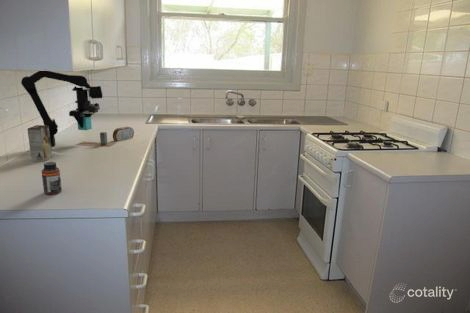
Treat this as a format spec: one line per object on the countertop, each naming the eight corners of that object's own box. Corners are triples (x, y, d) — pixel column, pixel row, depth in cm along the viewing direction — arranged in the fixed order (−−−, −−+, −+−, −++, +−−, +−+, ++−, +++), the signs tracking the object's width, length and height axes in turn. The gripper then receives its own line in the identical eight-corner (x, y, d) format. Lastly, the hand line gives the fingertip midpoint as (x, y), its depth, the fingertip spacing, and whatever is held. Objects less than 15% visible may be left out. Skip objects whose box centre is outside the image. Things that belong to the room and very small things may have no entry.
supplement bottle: (43, 191, 135) (40, 161, 132) (60, 188, 138) (58, 160, 135) (44, 196, 130) (41, 166, 128) (62, 193, 133) (59, 164, 130)
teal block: (86, 130, 201) (85, 118, 199) (78, 129, 202) (77, 118, 200) (91, 128, 206) (90, 117, 204) (83, 128, 207) (82, 116, 205)
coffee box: (39, 156, 181) (36, 124, 177) (52, 156, 182) (49, 125, 178) (30, 161, 172) (26, 128, 168) (44, 161, 173) (41, 128, 169)
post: (105, 145, 203) (104, 133, 201) (100, 145, 203) (99, 132, 201) (107, 144, 205) (106, 132, 204) (103, 144, 206) (102, 131, 204)
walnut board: (108, 149, 200) (108, 147, 199) (75, 146, 202) (74, 144, 202) (116, 145, 208) (116, 143, 208) (83, 143, 211) (83, 141, 211)
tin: (131, 138, 227) (130, 125, 225) (135, 139, 226) (134, 126, 224) (112, 142, 215) (111, 128, 213) (116, 143, 213) (115, 129, 211)
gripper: (86, 101, 189) (89, 130, 193) (104, 97, 207) (106, 124, 211) (67, 100, 191) (70, 129, 195) (86, 97, 209) (88, 123, 213)
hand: (84, 126), depth 203 cm, fingers closed on teal block, 5 cm apart
